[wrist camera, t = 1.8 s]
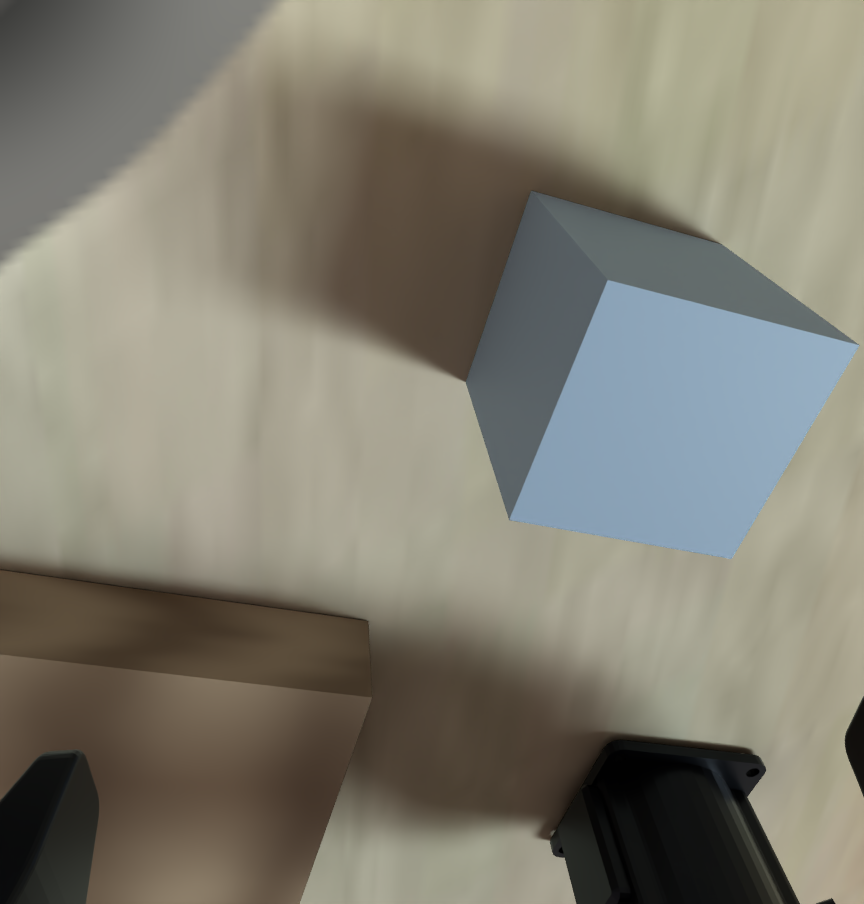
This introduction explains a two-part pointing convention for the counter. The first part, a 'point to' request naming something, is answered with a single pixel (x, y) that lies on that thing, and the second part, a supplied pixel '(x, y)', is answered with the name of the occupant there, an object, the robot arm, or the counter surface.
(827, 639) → the counter surface
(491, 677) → the counter surface
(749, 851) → the robot arm
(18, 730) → the walnut stand
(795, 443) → the slate block
